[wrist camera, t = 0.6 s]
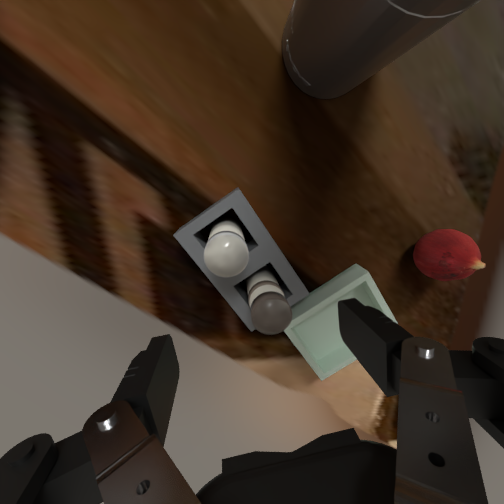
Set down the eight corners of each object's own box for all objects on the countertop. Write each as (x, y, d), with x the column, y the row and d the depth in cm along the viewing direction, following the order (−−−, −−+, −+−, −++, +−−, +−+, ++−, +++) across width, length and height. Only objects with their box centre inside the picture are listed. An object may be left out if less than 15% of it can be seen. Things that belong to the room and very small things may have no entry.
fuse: (230, 210, 29) (231, 225, 20) (248, 236, 30) (257, 261, 21) (203, 229, 29) (194, 251, 20) (222, 254, 30) (221, 285, 21)
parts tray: (355, 263, 32) (368, 271, 29) (387, 319, 35) (402, 331, 32) (276, 314, 33) (281, 327, 30) (313, 364, 36) (321, 380, 33)
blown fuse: (264, 258, 31) (278, 290, 22) (280, 281, 32) (299, 320, 23) (238, 275, 31) (243, 313, 22) (255, 297, 32) (266, 341, 23)
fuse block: (237, 187, 28) (239, 188, 25) (301, 281, 32) (309, 294, 29) (179, 228, 29) (173, 235, 25) (248, 316, 33) (251, 331, 29)
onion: (415, 276, 33) (471, 305, 26) (389, 248, 32) (441, 271, 24) (450, 244, 33) (519, 264, 25) (425, 214, 31) (490, 226, 23)
